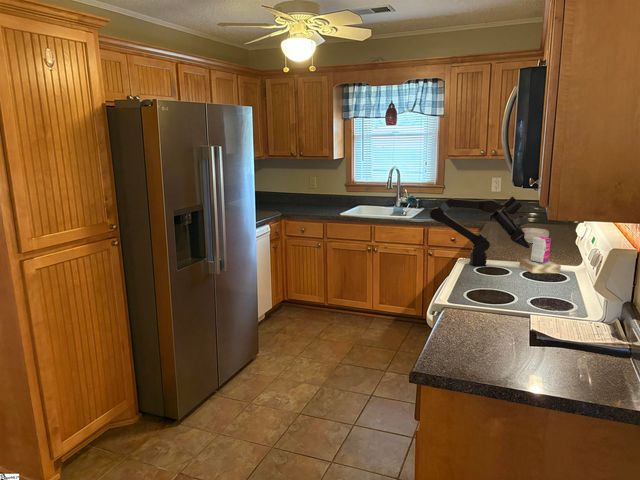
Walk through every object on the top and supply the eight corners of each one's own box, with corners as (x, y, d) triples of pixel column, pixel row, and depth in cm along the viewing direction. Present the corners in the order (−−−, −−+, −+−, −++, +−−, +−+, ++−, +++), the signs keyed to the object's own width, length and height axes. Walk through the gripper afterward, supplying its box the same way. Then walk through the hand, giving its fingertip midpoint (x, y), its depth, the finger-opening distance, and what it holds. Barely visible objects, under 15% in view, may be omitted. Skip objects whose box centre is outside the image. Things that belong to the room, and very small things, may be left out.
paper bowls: (550, 245, 284) (551, 232, 283) (522, 244, 289) (523, 231, 287) (545, 241, 299) (546, 228, 297) (519, 239, 303) (520, 227, 302)
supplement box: (541, 263, 221) (544, 239, 219) (530, 261, 226) (532, 237, 224) (549, 262, 225) (551, 238, 222) (537, 259, 229) (539, 236, 227)
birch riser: (531, 273, 219) (532, 265, 219) (519, 266, 232) (520, 258, 231) (560, 273, 220) (560, 265, 219) (546, 266, 233) (546, 258, 232)
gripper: (521, 212, 215) (545, 238, 214) (517, 207, 233) (539, 231, 232) (500, 228, 219) (524, 254, 218) (498, 222, 236) (520, 246, 235)
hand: (527, 246), depth 226 cm, fingers open, 9 cm apart
